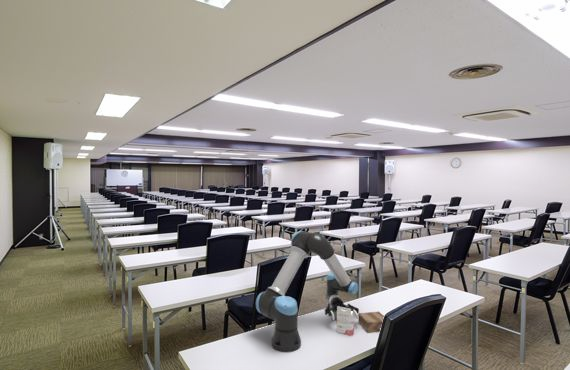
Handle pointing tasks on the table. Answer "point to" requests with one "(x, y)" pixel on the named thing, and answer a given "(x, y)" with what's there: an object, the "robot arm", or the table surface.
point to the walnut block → (370, 321)
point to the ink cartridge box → (345, 321)
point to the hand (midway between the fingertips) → (345, 317)
